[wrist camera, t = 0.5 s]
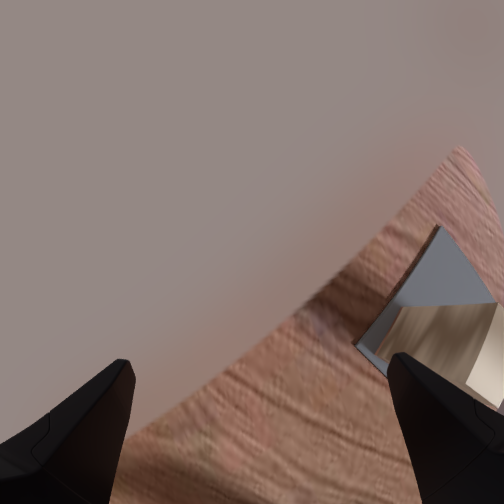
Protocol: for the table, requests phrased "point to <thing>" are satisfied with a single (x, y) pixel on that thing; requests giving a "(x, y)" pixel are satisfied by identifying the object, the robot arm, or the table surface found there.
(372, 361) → the slate mat
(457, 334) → the beech block
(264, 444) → the table surface
